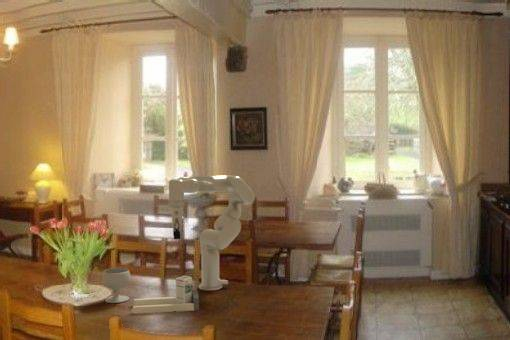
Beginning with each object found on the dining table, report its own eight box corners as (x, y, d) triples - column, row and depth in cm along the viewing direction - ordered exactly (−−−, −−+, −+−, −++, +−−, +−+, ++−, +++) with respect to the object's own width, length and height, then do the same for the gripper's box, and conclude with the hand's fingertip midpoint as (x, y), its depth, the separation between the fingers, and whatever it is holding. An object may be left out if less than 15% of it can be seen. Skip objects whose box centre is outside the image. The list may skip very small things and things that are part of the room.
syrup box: (184, 309, 263) (184, 279, 262) (175, 307, 266) (175, 277, 265) (193, 306, 267) (192, 276, 266) (184, 304, 271) (184, 275, 270)
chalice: (123, 305, 269) (123, 274, 268) (97, 303, 272) (96, 273, 271) (135, 296, 283) (135, 267, 282) (110, 295, 286) (109, 266, 285)
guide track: (197, 301, 275) (197, 289, 274) (198, 310, 262) (198, 297, 262) (134, 305, 270) (134, 292, 269) (132, 313, 257) (132, 301, 257)
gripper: (184, 205, 273) (184, 240, 274) (183, 201, 290) (183, 233, 291) (169, 206, 272) (169, 240, 273) (168, 201, 289) (169, 234, 290)
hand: (176, 237), depth 282 cm, fingers open, 9 cm apart
